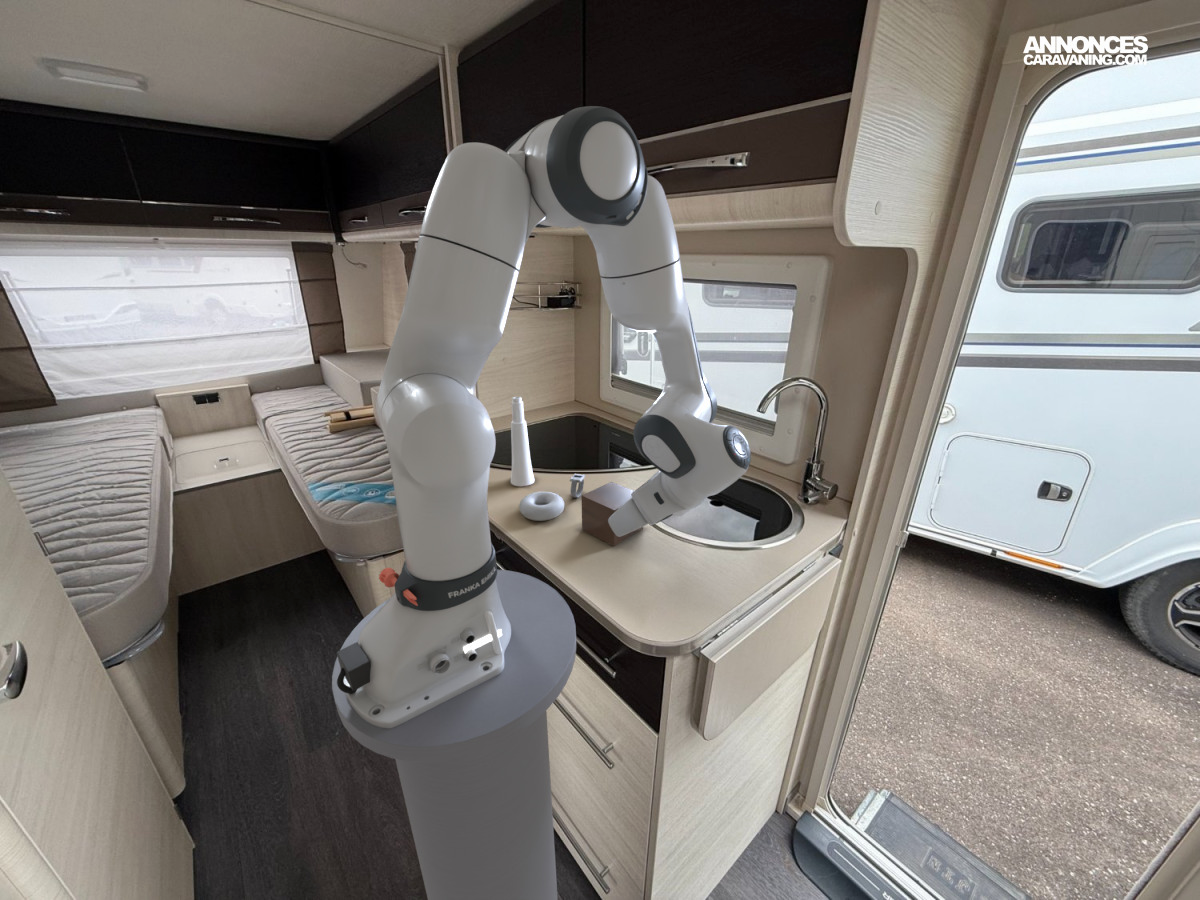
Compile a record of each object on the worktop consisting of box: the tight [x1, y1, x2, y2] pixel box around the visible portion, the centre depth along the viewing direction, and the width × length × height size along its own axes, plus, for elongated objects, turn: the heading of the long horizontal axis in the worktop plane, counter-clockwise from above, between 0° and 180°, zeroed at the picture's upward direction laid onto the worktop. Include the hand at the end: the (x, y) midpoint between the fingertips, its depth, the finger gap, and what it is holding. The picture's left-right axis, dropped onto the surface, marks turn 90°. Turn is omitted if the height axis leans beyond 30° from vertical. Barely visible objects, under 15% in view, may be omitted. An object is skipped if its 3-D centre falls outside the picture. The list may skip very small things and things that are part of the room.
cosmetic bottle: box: [510, 396, 535, 487], centre depth 115 cm, size 6×6×22 cm
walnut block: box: [580, 481, 644, 547], centre depth 96 cm, size 9×9×8 cm
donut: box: [518, 491, 565, 522], centre depth 103 cm, size 10×4×10 cm
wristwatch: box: [569, 473, 586, 499], centre depth 111 cm, size 6×3×5 cm, turn 164°
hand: (631, 519), depth 92 cm, fingers closed, pressing on walnut block
